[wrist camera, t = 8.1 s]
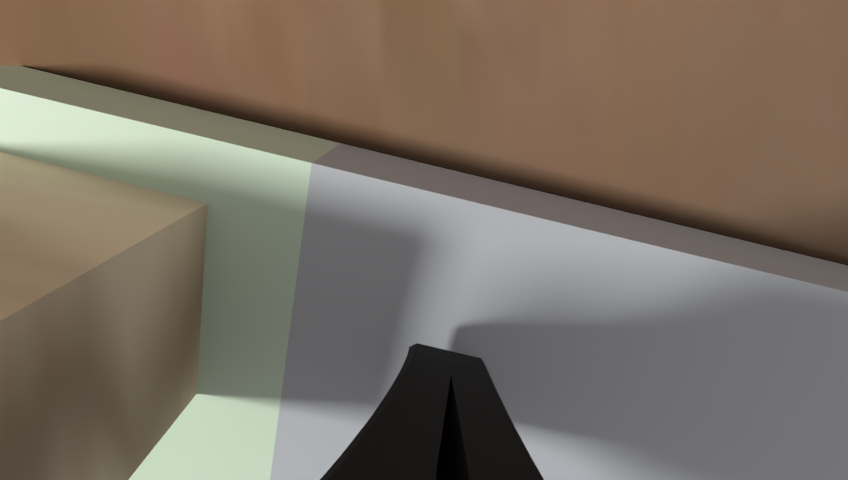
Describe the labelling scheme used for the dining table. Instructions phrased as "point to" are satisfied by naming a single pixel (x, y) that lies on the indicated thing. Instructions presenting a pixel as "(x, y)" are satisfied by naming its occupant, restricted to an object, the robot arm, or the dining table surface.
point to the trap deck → (458, 304)
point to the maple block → (93, 320)
